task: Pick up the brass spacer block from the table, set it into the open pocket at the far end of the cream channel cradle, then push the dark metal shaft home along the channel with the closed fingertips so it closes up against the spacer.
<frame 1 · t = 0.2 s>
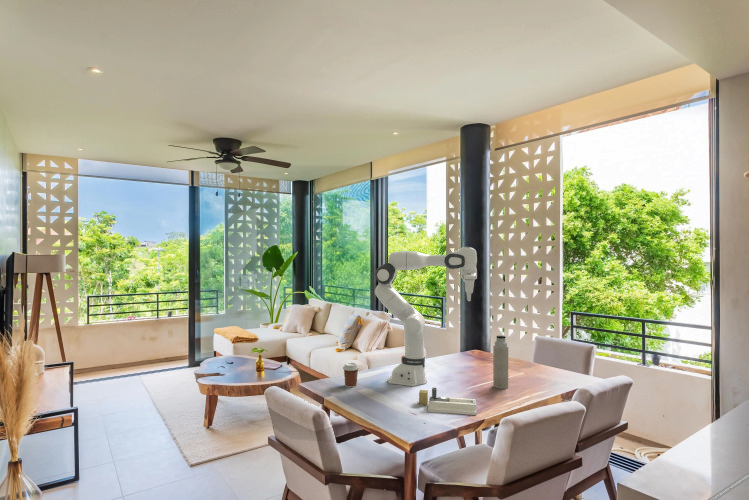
hand: (468, 300, 248), 48 cm above the table, fingers open, 8 cm apart
spacer: (423, 403, 217), on the table
cradle: (452, 408, 209), on the table
shaft: (439, 396, 210), point 5 cm above the table, slide at 0.0 cm
coffee cup: (350, 386, 245), on the table
thermos bottle: (500, 386, 245), on the table
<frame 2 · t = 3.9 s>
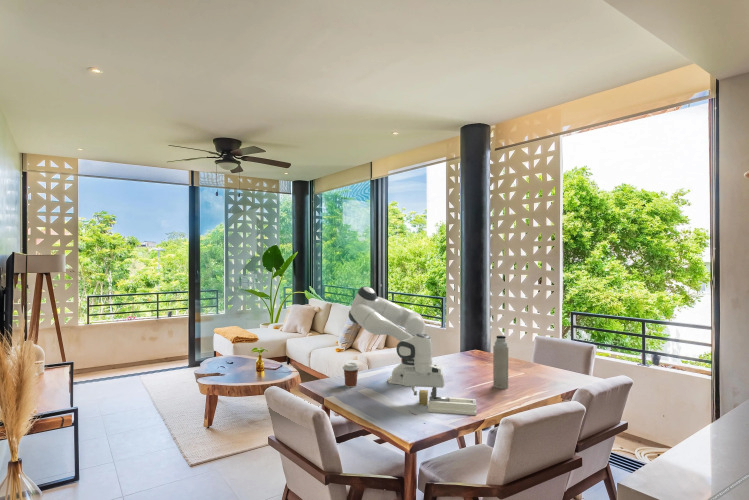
hand: (423, 395, 217), 4 cm above the table, fingers open, 7 cm apart
nothing on the table moved.
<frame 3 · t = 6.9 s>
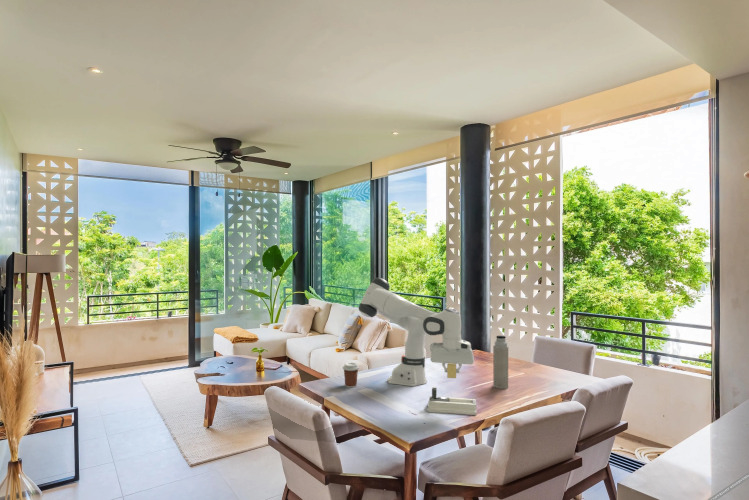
hand: (452, 372, 209), 17 cm above the table, fingers closed on spacer, 4 cm apart
spacer: (451, 377, 209), point 15 cm above the table, touching gripper
everything else where it was.
when the fingers open (5 cm above the table, at t = 8.9 s): spacer drops 2 cm, resting on cradle.
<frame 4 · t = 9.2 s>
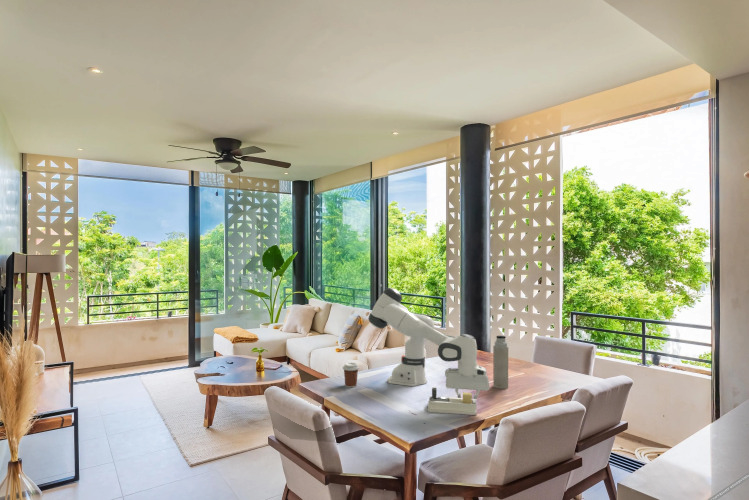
hand: (467, 398, 208), 5 cm above the table, fingers open, 6 cm apart
spacer: (467, 406, 208), point 1 cm above the table, touching cradle
everything else where it was.
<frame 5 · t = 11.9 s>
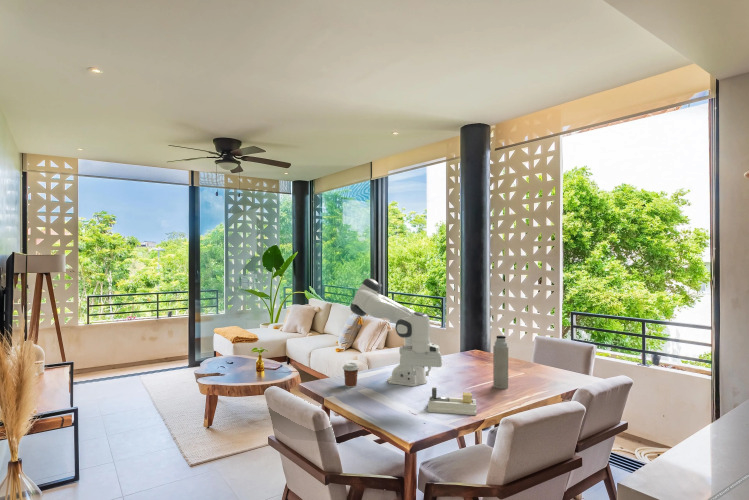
hand: (420, 375, 212), 15 cm above the table, fingers open, 5 cm apart
nothing on the table moved.
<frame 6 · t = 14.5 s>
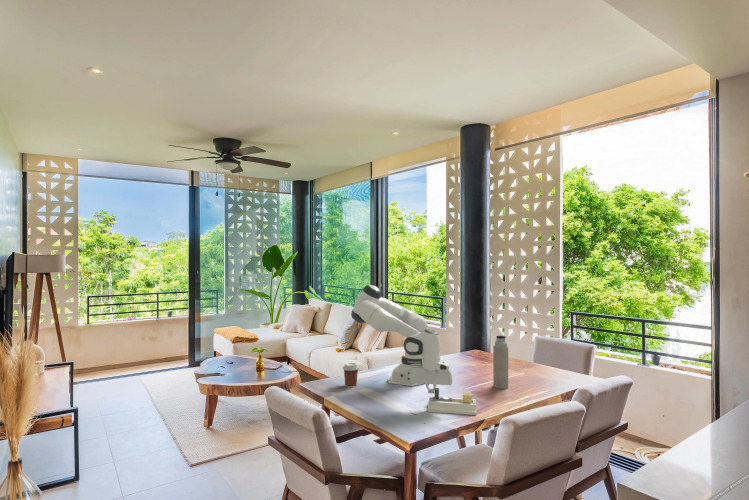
hand: (431, 393, 211), 7 cm above the table, fingers closed
shaft: (442, 396, 210), point 5 cm above the table, slide at 1.2 cm, touching gripper
everything else where it was.
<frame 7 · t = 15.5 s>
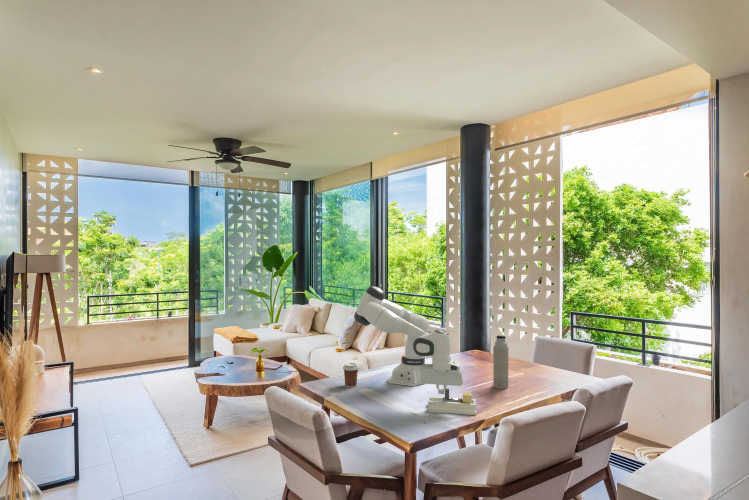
hand: (441, 393, 210), 7 cm above the table, fingers closed
shaft: (452, 397, 209), point 5 cm above the table, slide at 6.0 cm, touching gripper
everything else where it was.
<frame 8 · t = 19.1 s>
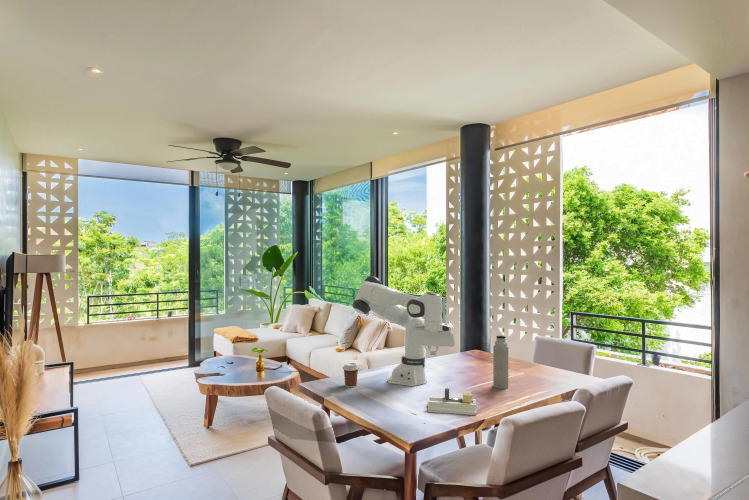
hand: (433, 355, 211), 25 cm above the table, fingers closed
shaft: (452, 397, 209), point 5 cm above the table, slide at 6.0 cm
everything else where it was.
at the end: shaft slide at 6.0 cm; spacer 0.1 cm from the target spot on the cradle, point 1.5 cm above the cradle's base; spacer tilted 0° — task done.
